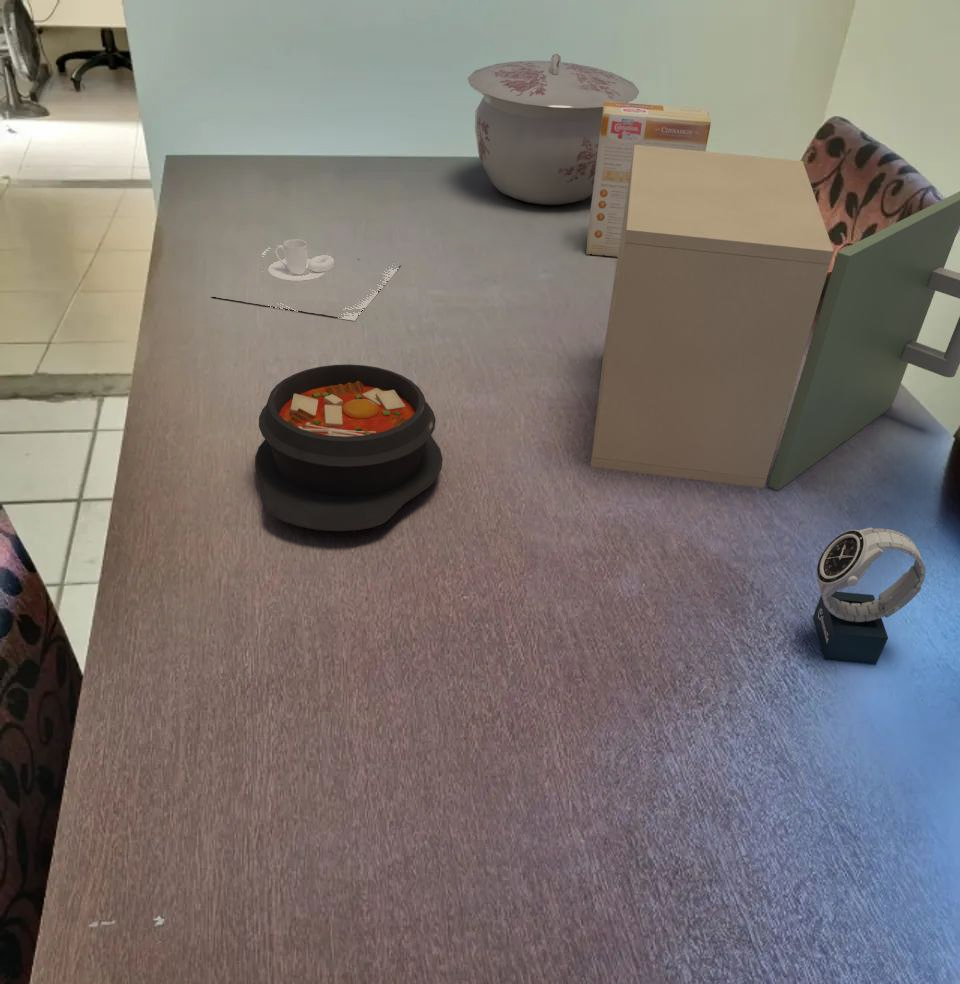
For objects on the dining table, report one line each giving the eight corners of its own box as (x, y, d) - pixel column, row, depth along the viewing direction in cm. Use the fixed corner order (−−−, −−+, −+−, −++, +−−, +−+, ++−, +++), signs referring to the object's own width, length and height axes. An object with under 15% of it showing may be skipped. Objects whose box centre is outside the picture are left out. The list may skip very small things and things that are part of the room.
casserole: (419, 559, 88) (420, 480, 83) (220, 535, 90) (208, 456, 84) (459, 423, 107) (462, 351, 101) (293, 404, 108) (287, 332, 102)
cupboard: (748, 372, 120) (803, 160, 103) (764, 489, 100) (834, 250, 84) (603, 356, 121) (634, 144, 105) (590, 467, 102) (626, 229, 85)
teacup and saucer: (340, 267, 137) (338, 238, 134) (319, 288, 131) (317, 258, 129) (282, 258, 139) (279, 229, 136) (259, 279, 133) (255, 249, 130)
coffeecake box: (682, 247, 150) (709, 107, 137) (685, 264, 145) (713, 121, 132) (586, 238, 151) (603, 98, 138) (585, 255, 146) (603, 111, 133)
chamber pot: (514, 229, 152) (526, 80, 138) (435, 176, 169) (438, 39, 155) (658, 208, 163) (682, 69, 149) (570, 160, 180) (583, 31, 166)
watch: (790, 615, 85) (826, 511, 78) (882, 624, 85) (927, 521, 78) (800, 659, 81) (840, 553, 74) (897, 668, 81) (946, 563, 74)
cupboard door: (939, 426, 112) (1030, 209, 96) (829, 515, 97) (914, 276, 81) (882, 403, 115) (960, 190, 99) (767, 486, 100) (837, 251, 84)
